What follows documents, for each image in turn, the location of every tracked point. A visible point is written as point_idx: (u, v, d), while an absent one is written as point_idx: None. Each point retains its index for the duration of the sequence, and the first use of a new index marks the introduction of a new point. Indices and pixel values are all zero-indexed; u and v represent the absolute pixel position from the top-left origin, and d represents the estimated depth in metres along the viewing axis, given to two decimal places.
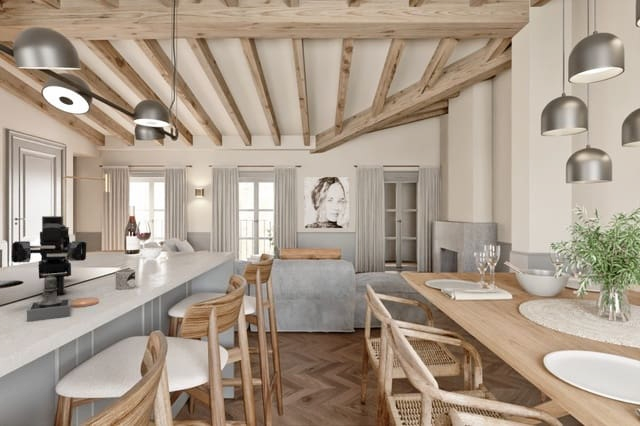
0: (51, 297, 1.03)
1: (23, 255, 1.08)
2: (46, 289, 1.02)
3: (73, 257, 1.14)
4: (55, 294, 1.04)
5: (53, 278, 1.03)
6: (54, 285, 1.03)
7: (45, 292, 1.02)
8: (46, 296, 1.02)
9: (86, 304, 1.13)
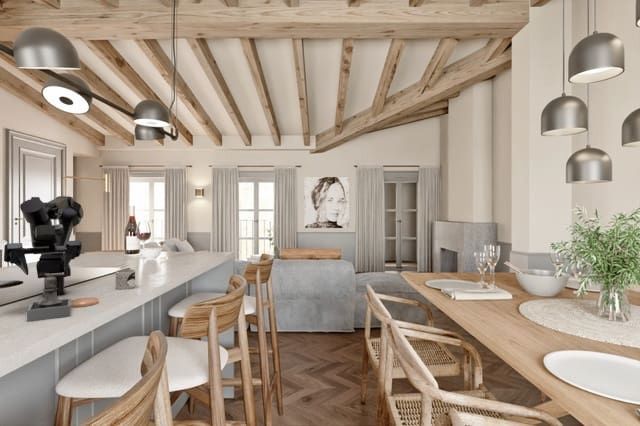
0: (51, 297, 1.03)
1: (17, 259, 1.06)
2: (46, 289, 1.02)
3: (68, 262, 1.14)
4: (55, 294, 1.04)
5: (53, 278, 1.03)
6: (54, 285, 1.03)
7: (45, 292, 1.02)
8: (46, 296, 1.02)
9: (86, 304, 1.13)
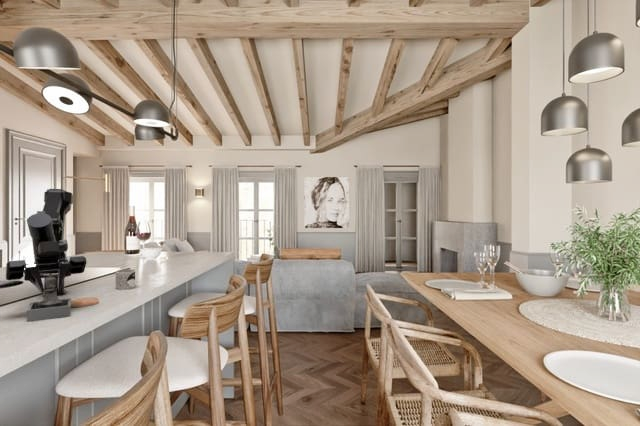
0: (51, 297, 1.03)
1: (31, 276, 1.04)
2: (46, 289, 1.02)
3: (62, 280, 1.08)
4: (55, 294, 1.04)
5: (53, 278, 1.03)
6: (54, 285, 1.03)
7: (45, 292, 1.02)
8: (46, 296, 1.02)
9: (86, 304, 1.13)
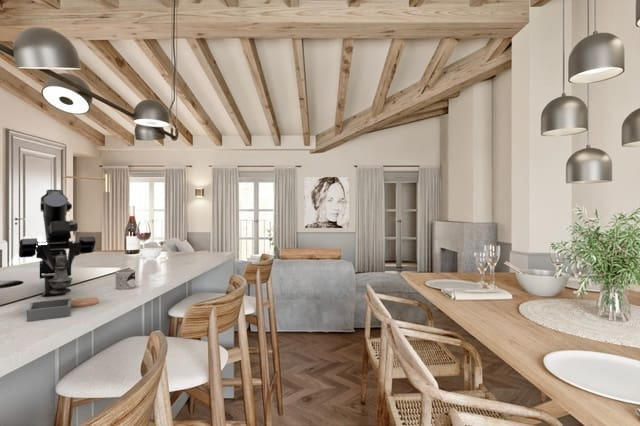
0: (61, 274, 1.06)
1: (43, 253, 1.07)
2: (57, 266, 1.06)
3: None
4: (65, 272, 1.08)
5: (64, 256, 1.07)
6: (64, 263, 1.07)
7: (56, 269, 1.06)
8: (57, 273, 1.06)
9: (86, 304, 1.13)
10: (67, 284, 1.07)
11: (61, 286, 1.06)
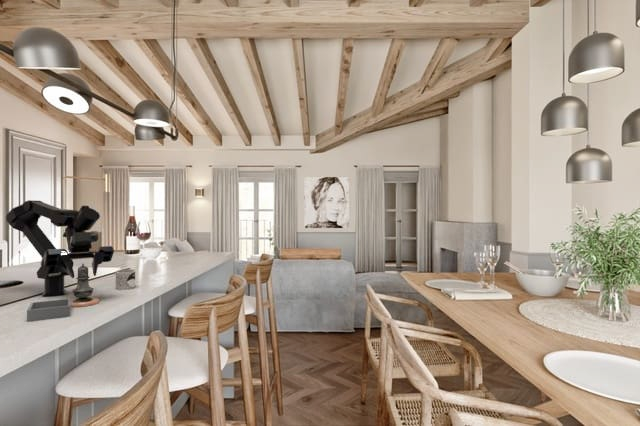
0: (84, 284, 1.15)
1: (62, 263, 1.15)
2: (79, 277, 1.14)
3: None
4: (87, 282, 1.16)
5: (85, 268, 1.15)
6: (86, 274, 1.15)
7: (79, 280, 1.14)
8: (80, 284, 1.14)
9: (86, 304, 1.13)
10: (89, 293, 1.15)
11: (84, 295, 1.14)
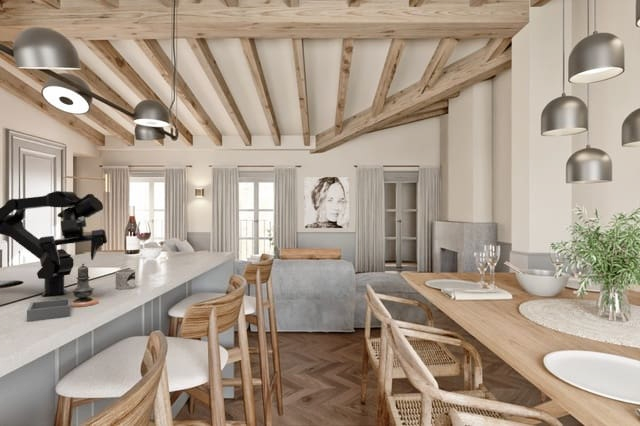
0: (84, 284, 1.15)
1: None
2: (79, 277, 1.14)
3: (96, 250, 1.24)
4: (87, 282, 1.16)
5: (85, 268, 1.15)
6: (86, 274, 1.15)
7: (79, 280, 1.14)
8: (80, 284, 1.14)
9: (86, 304, 1.13)
10: (89, 293, 1.15)
11: (84, 295, 1.14)
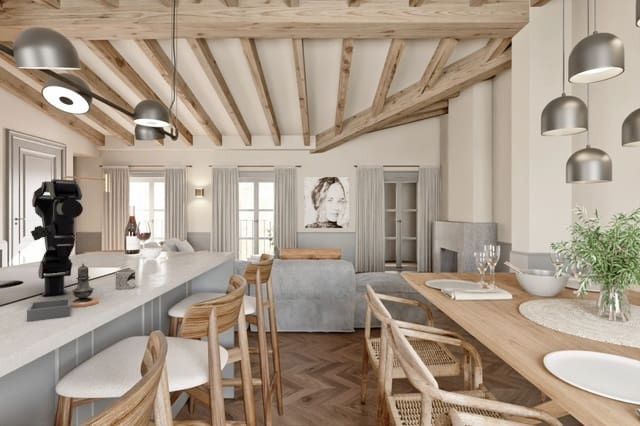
0: (84, 284, 1.15)
1: None
2: (80, 277, 1.14)
3: (68, 253, 1.15)
4: (87, 282, 1.16)
5: (86, 268, 1.15)
6: (86, 274, 1.15)
7: (79, 280, 1.14)
8: (80, 284, 1.14)
9: (86, 304, 1.13)
10: (89, 293, 1.15)
11: (84, 295, 1.14)
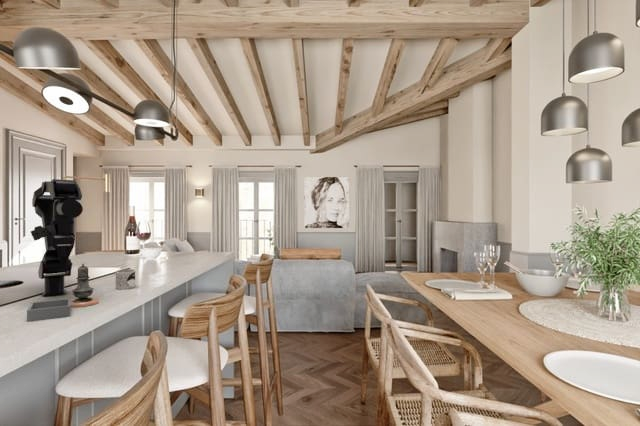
0: (84, 284, 1.15)
1: None
2: (79, 277, 1.14)
3: (68, 253, 1.15)
4: (87, 282, 1.16)
5: (85, 268, 1.15)
6: (86, 274, 1.15)
7: (79, 280, 1.14)
8: (80, 284, 1.14)
9: (86, 304, 1.13)
10: (89, 293, 1.15)
11: (84, 295, 1.14)
